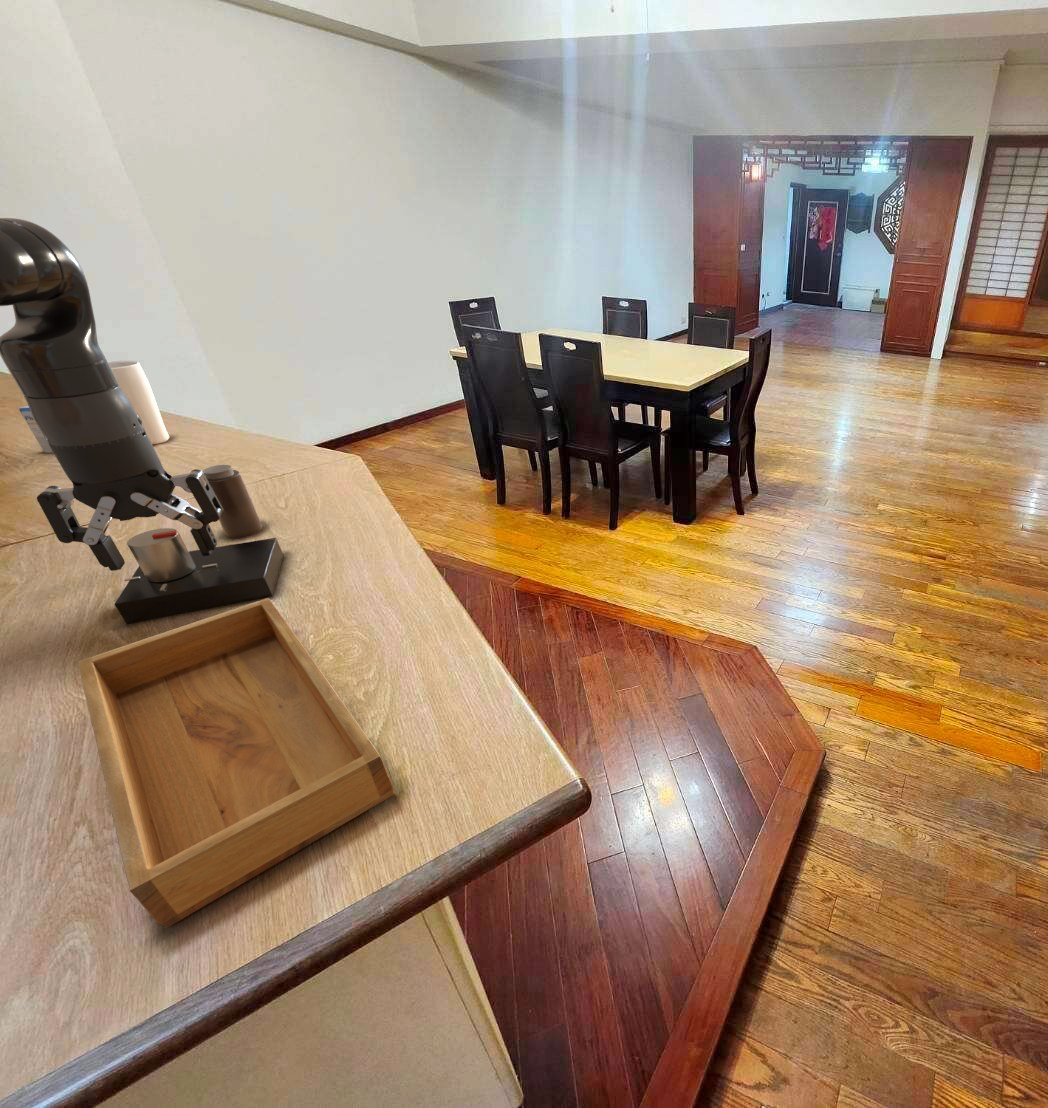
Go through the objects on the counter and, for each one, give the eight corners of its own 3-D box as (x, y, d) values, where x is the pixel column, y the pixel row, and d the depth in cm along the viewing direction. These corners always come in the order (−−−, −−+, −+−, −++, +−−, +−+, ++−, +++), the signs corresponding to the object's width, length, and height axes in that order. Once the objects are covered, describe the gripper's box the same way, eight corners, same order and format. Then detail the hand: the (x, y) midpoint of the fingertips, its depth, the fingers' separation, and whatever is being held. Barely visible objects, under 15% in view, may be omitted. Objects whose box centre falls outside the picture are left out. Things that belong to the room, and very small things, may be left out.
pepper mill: (223, 540, 85) (193, 477, 80) (229, 527, 88) (200, 465, 83) (260, 534, 87) (233, 472, 82) (264, 522, 90) (239, 461, 85)
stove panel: (122, 626, 68) (108, 603, 66) (150, 578, 76) (138, 557, 75) (272, 596, 74) (263, 575, 72) (284, 555, 82) (275, 536, 81)
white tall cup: (168, 433, 120) (133, 358, 113) (180, 441, 117) (144, 364, 110) (125, 442, 116) (85, 364, 108) (136, 450, 112) (95, 370, 105)
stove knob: (141, 586, 70) (119, 547, 67) (153, 567, 73) (132, 530, 71) (191, 577, 72) (171, 539, 69) (199, 559, 75) (181, 523, 72)
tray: (397, 796, 50) (379, 751, 47) (166, 934, 40) (125, 887, 37) (287, 636, 68) (269, 596, 65) (107, 705, 58) (76, 661, 55)
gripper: (-16, 452, 57) (73, 589, 66) (170, 434, 63) (231, 562, 71) (20, 428, 63) (98, 557, 71) (188, 414, 69) (243, 535, 77)
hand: (165, 559), depth 71 cm, fingers open, 8 cm apart
